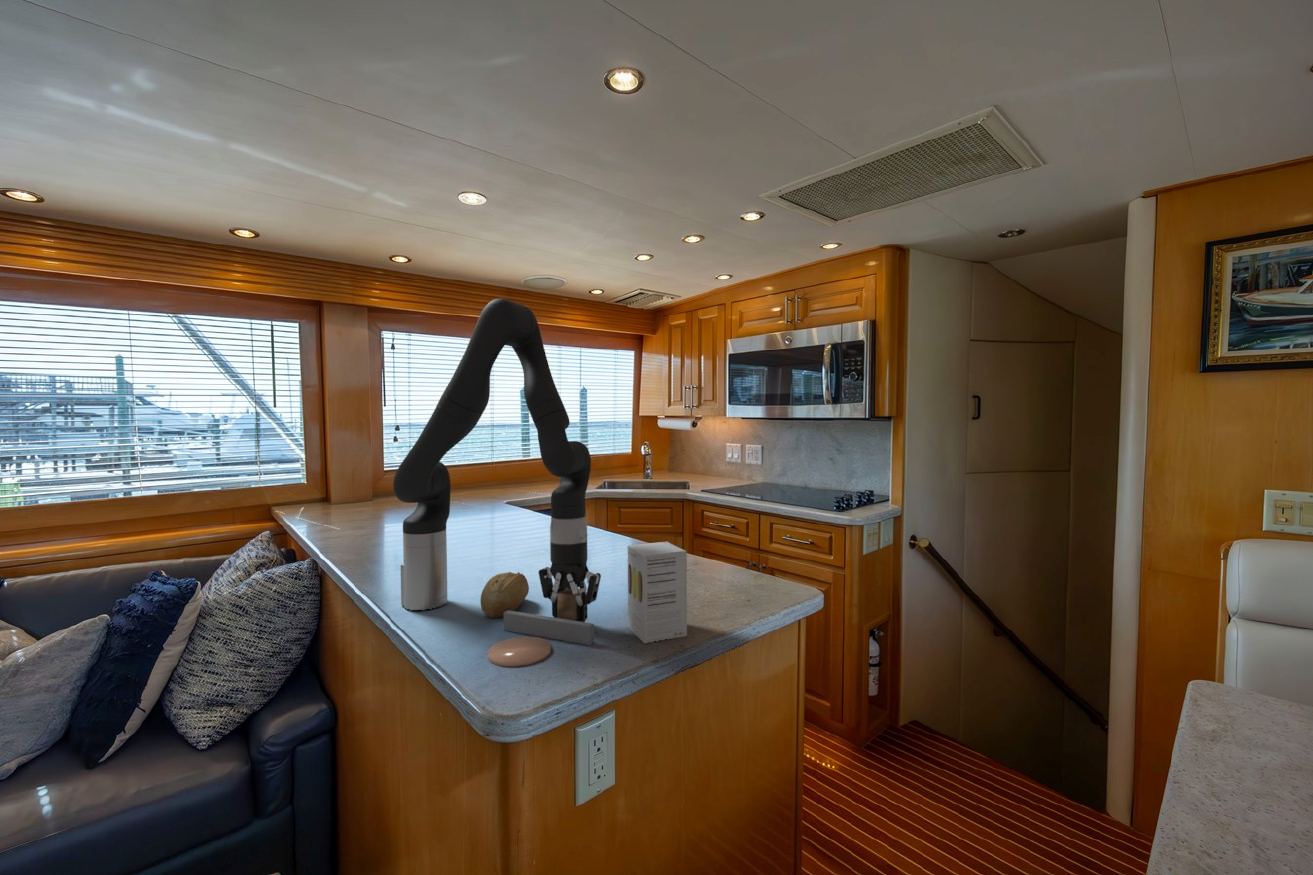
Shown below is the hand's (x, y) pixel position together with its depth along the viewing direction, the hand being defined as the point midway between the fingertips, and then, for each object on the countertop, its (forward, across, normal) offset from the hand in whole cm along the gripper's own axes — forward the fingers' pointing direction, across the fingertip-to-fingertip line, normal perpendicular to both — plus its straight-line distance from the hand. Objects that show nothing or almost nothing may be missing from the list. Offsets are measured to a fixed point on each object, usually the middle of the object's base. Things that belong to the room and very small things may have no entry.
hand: (569, 620), depth 109 cm
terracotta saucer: (+1, -1, -15) cm, 15 cm away
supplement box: (+1, +18, +4) cm, 18 cm away
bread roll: (+1, -19, +4) cm, 19 cm away
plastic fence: (+1, -1, -6) cm, 7 cm away
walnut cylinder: (+1, 0, 0) cm, 1 cm away
